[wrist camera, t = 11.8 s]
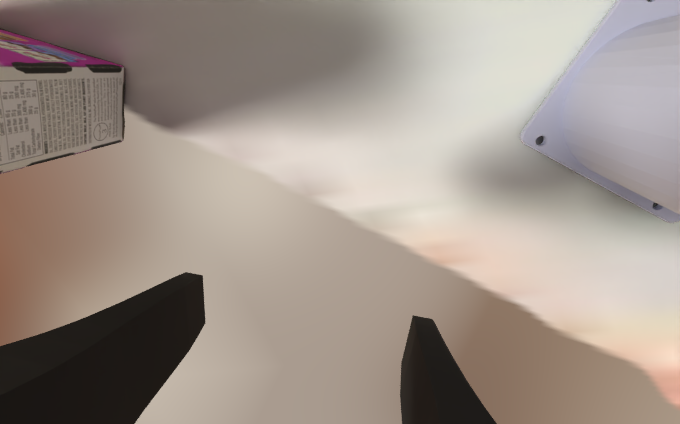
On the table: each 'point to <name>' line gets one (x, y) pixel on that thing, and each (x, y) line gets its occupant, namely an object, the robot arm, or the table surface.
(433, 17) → the table surface
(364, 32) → the table surface
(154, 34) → the table surface
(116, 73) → the candy bar box
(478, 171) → the table surface
